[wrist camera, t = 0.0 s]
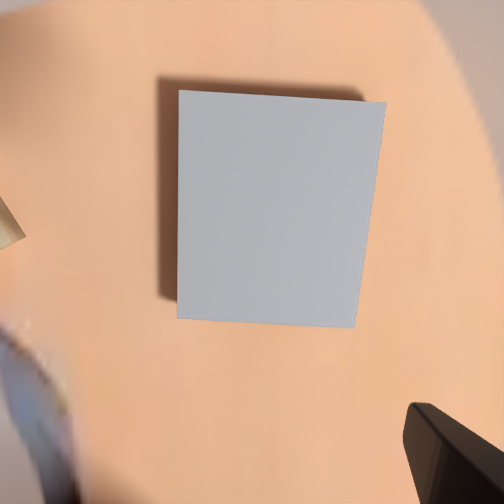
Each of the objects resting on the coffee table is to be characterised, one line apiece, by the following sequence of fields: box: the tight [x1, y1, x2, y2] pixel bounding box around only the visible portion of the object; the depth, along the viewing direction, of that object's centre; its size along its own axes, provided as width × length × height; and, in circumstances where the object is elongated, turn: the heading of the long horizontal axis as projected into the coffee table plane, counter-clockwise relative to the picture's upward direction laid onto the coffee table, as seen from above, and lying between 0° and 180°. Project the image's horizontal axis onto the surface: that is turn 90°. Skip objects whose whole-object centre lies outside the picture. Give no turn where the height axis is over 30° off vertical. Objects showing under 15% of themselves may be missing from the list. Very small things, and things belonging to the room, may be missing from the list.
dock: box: [177, 90, 386, 329], centre depth 22 cm, size 12×10×2 cm
